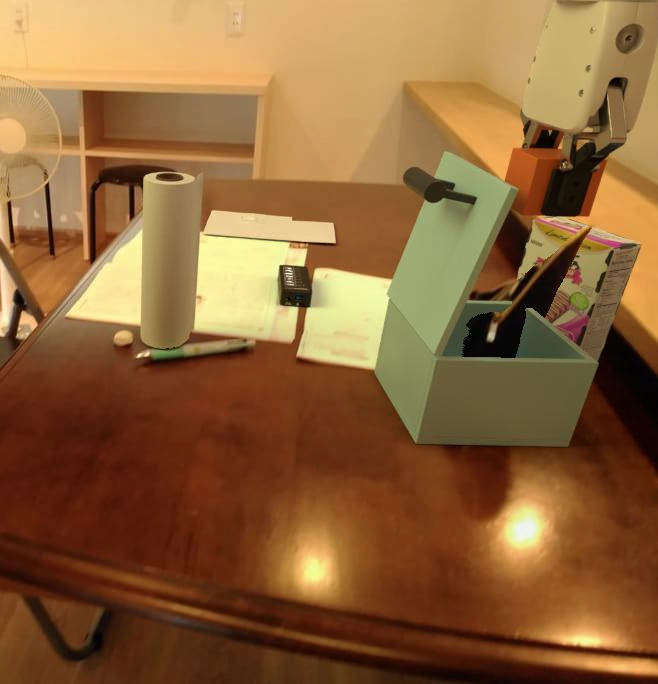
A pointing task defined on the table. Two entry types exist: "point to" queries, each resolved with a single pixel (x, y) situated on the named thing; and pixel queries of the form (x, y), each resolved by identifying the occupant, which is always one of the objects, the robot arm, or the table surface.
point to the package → (541, 179)
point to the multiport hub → (294, 286)
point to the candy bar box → (583, 279)
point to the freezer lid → (447, 244)
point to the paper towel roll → (169, 257)
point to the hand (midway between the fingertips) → (544, 205)
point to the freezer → (485, 384)
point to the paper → (268, 227)
